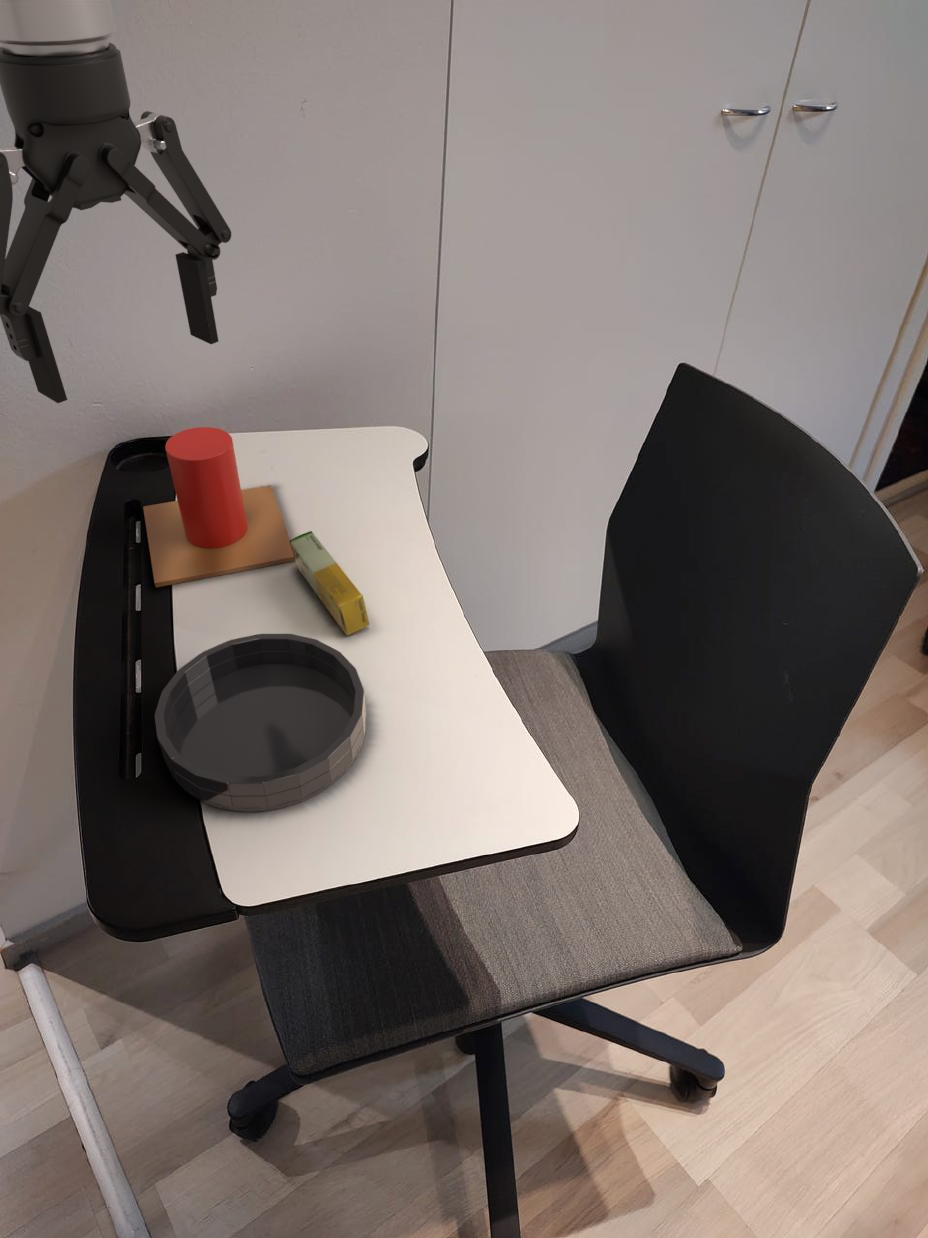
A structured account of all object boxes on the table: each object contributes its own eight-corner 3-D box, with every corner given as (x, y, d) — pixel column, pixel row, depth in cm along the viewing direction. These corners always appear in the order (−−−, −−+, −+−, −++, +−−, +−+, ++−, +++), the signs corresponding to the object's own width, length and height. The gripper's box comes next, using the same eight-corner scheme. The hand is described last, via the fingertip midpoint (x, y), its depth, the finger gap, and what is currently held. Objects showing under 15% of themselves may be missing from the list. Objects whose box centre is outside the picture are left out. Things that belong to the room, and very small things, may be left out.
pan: (175, 836, 65) (166, 808, 63) (155, 686, 77) (147, 657, 75) (388, 780, 70) (387, 751, 68) (339, 645, 81) (336, 616, 79)
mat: (155, 587, 87) (154, 583, 87) (144, 510, 97) (142, 506, 96) (296, 560, 91) (295, 556, 90) (271, 489, 101) (270, 484, 100)
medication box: (295, 569, 90) (287, 538, 87) (320, 559, 91) (312, 528, 88) (345, 637, 82) (338, 605, 79) (371, 625, 83) (365, 593, 80)
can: (189, 553, 90) (168, 464, 83) (182, 519, 95) (162, 432, 88) (252, 541, 92) (236, 453, 85) (242, 508, 96) (227, 422, 90)
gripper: (185, 15, 64) (230, 305, 78) (-188, 59, 49) (-49, 406, 63) (252, 28, 60) (287, 330, 74) (-128, 79, 46) (5, 442, 60)
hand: (133, 365), depth 69 cm, fingers open, 13 cm apart
